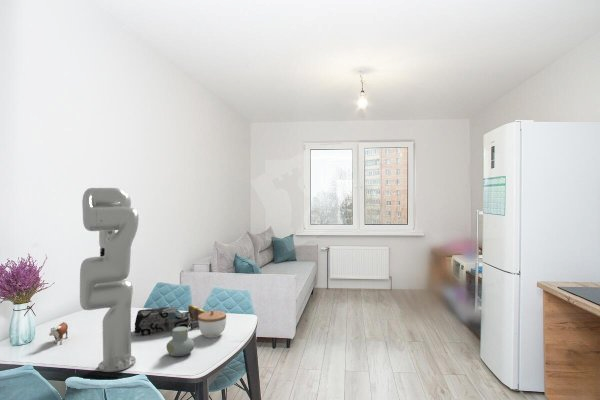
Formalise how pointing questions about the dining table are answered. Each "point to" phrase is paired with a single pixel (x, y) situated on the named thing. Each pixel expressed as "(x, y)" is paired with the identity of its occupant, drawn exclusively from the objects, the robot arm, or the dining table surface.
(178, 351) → the air freshener
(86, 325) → the dining table surface
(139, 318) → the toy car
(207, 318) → the lidded bowl
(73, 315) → the dining table surface
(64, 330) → the bull figurine
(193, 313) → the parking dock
